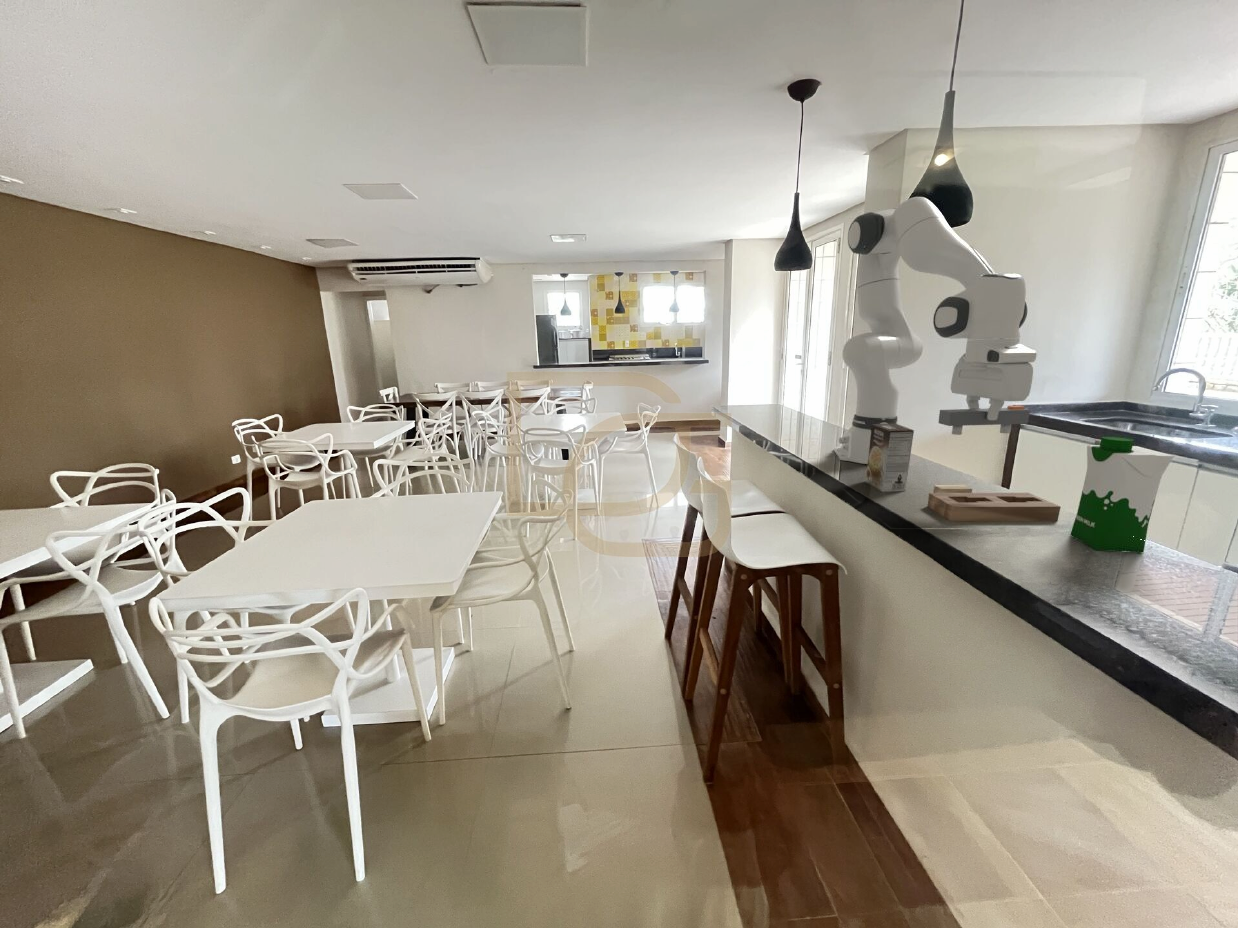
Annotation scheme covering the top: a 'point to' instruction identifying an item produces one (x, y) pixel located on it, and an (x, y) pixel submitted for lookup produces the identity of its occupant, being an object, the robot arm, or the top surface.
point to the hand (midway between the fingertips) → (982, 418)
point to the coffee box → (889, 457)
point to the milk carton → (1118, 494)
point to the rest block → (952, 489)
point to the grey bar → (976, 417)
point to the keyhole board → (993, 507)
